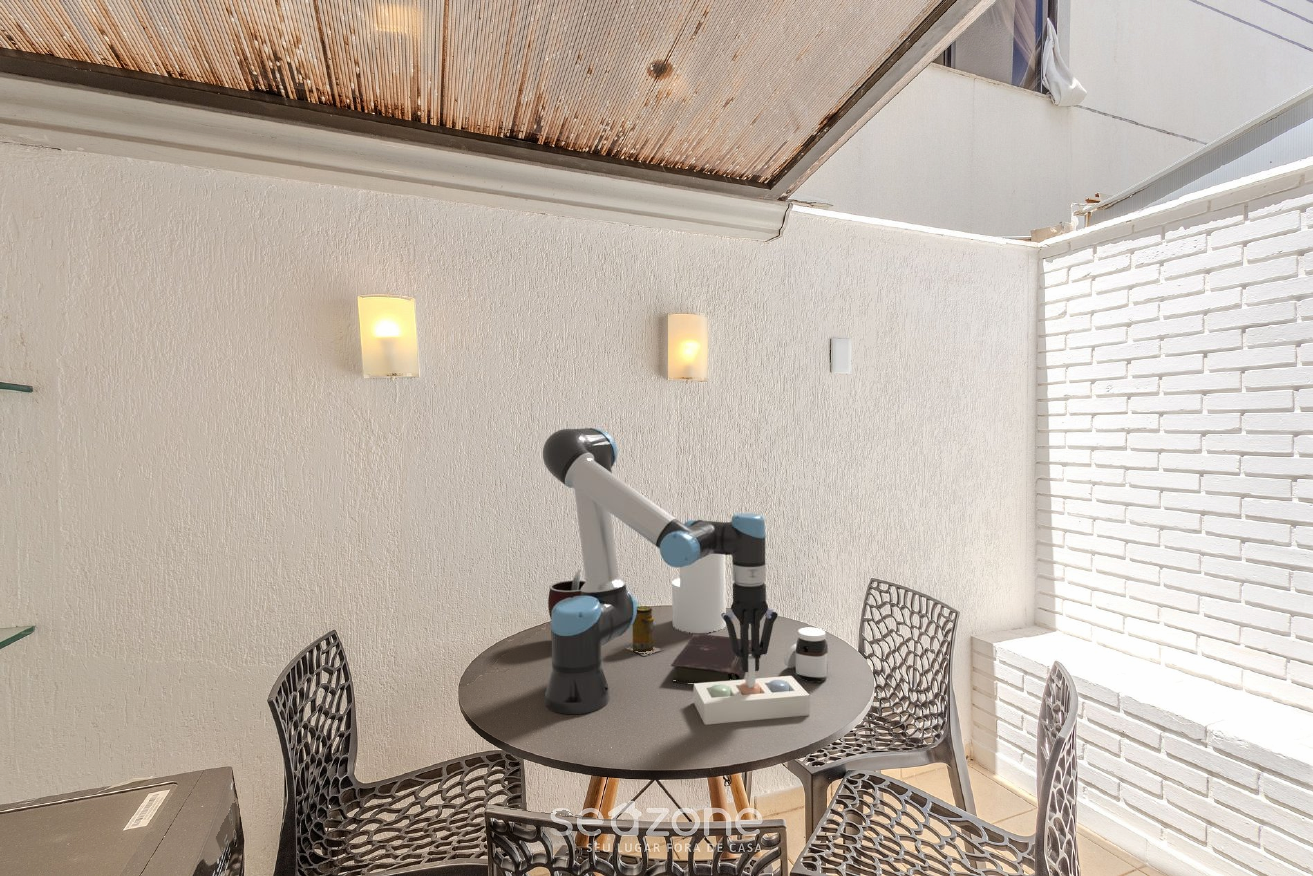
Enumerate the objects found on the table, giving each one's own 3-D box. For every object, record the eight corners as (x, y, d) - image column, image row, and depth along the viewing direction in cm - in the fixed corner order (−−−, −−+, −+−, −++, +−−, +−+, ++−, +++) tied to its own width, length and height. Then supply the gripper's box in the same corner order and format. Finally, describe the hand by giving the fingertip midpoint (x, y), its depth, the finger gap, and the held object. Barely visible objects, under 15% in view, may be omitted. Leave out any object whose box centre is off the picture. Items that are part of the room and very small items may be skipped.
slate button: (773, 703, 143) (773, 688, 143) (767, 695, 147) (766, 680, 147) (792, 701, 143) (791, 686, 143) (785, 693, 148) (784, 679, 148)
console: (704, 724, 137) (704, 704, 137) (693, 702, 148) (693, 683, 148) (809, 715, 141) (809, 695, 140) (791, 694, 151) (791, 675, 151)
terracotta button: (743, 705, 142) (743, 690, 141) (738, 697, 146) (738, 682, 146) (762, 704, 142) (762, 689, 142) (756, 696, 147) (756, 681, 147)
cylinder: (736, 624, 205) (735, 538, 204) (700, 637, 193) (699, 546, 192) (697, 613, 217) (696, 532, 217) (661, 624, 205) (660, 539, 205)
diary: (754, 656, 178) (754, 639, 178) (741, 693, 154) (741, 672, 154) (690, 649, 184) (690, 632, 184) (667, 683, 160) (668, 664, 160)
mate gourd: (587, 651, 182) (586, 582, 181) (542, 649, 184) (540, 581, 184) (602, 633, 197) (601, 570, 197) (559, 631, 200) (558, 568, 199)
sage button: (713, 708, 140) (713, 693, 140) (708, 700, 145) (708, 685, 145) (732, 706, 141) (732, 691, 141) (727, 698, 145) (727, 683, 145)
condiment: (645, 643, 188) (644, 603, 188) (663, 651, 182) (663, 609, 181) (625, 649, 184) (625, 608, 183) (643, 657, 177) (643, 614, 177)
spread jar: (823, 686, 156) (823, 639, 156) (778, 679, 161) (778, 633, 160) (831, 669, 167) (831, 625, 166) (789, 662, 171) (788, 620, 171)
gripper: (725, 588, 139) (727, 694, 139) (782, 584, 141) (783, 689, 141) (717, 579, 146) (718, 680, 147) (771, 576, 148) (772, 676, 149)
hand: (750, 685), depth 144 cm, fingers closed
